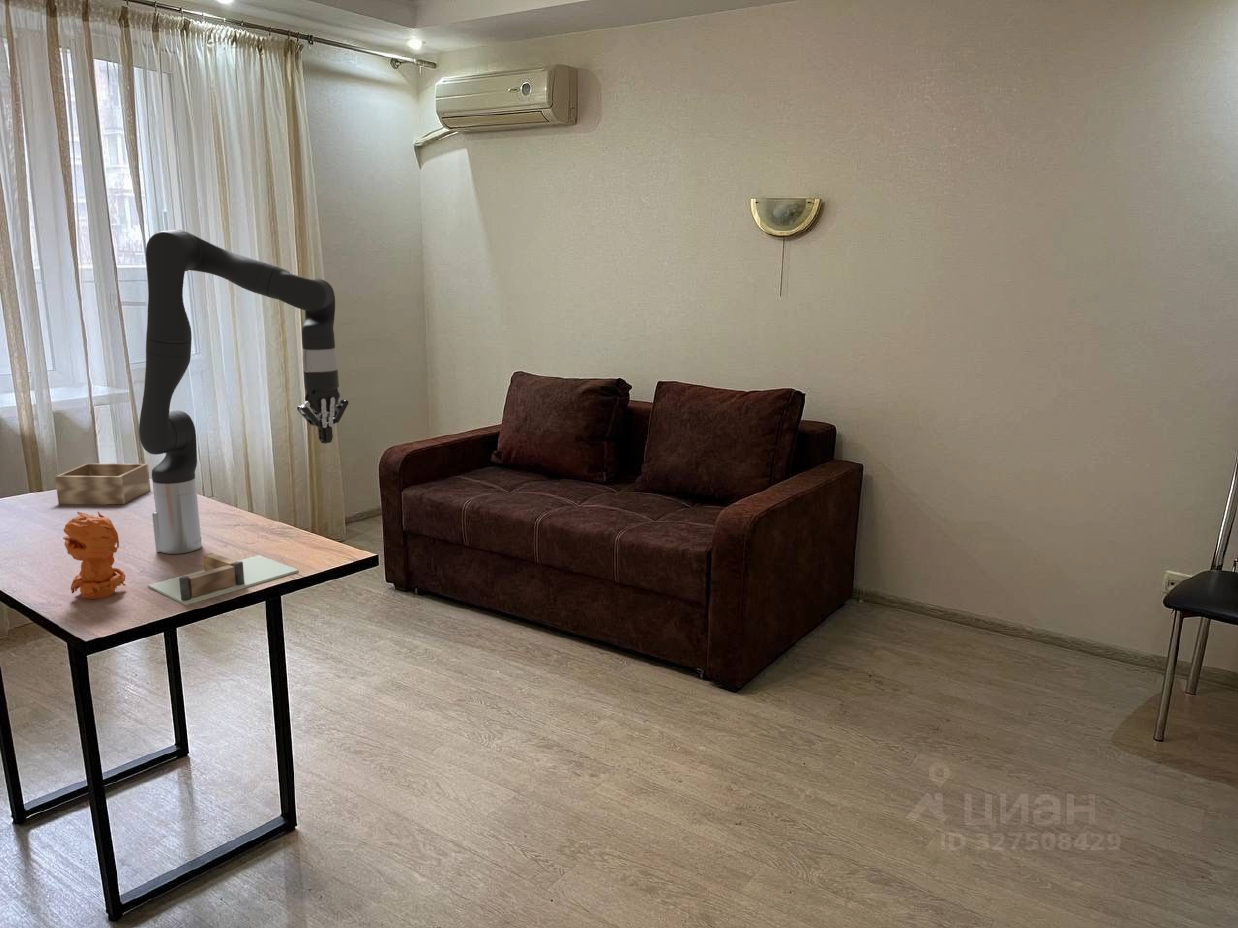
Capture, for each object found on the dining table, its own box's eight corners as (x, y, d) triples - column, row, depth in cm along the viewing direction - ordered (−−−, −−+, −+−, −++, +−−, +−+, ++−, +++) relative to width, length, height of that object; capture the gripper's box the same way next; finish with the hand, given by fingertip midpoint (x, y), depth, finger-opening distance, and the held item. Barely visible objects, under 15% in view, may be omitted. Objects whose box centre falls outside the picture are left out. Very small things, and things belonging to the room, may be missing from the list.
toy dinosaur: (83, 584, 199) (73, 504, 195) (136, 583, 200) (126, 503, 196) (57, 604, 188) (45, 519, 184) (113, 603, 189) (102, 518, 185)
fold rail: (239, 578, 201) (238, 561, 200) (231, 581, 199) (229, 563, 198) (213, 569, 206) (211, 552, 205) (204, 572, 205) (203, 554, 204)
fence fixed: (184, 603, 189) (182, 579, 188) (179, 601, 190) (177, 577, 189) (246, 585, 200) (244, 562, 198) (241, 583, 201) (239, 560, 200)
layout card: (185, 605, 188) (185, 602, 188) (148, 587, 198) (147, 584, 198) (298, 571, 208) (298, 569, 208) (259, 556, 218) (259, 554, 218)
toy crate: (58, 504, 259) (54, 476, 258) (89, 489, 275) (86, 463, 273) (123, 504, 260) (120, 477, 258) (150, 490, 275) (147, 463, 273)
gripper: (334, 364, 218) (339, 436, 222) (285, 370, 208) (291, 445, 212) (354, 366, 214) (359, 440, 218) (305, 372, 203) (311, 449, 207)
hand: (326, 442), depth 215 cm, fingers closed
